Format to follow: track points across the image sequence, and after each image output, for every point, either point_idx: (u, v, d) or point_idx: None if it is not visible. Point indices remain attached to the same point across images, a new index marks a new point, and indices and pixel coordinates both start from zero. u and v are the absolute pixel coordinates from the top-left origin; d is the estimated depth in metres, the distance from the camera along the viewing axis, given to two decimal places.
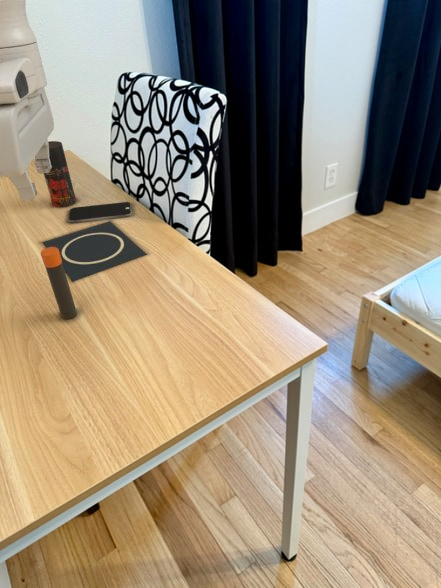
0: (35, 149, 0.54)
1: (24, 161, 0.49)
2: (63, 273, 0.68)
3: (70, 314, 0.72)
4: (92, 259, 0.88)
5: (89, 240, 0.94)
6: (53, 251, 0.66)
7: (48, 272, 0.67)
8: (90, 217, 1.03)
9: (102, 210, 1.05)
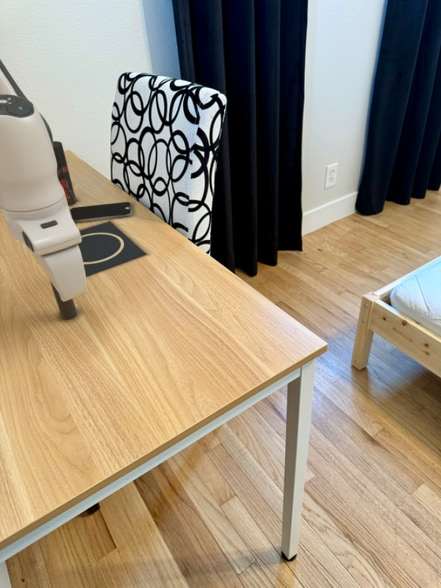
0: None
1: None
2: None
3: (70, 314, 0.72)
4: (92, 259, 0.88)
5: (89, 240, 0.94)
6: None
7: None
8: (90, 217, 1.03)
9: (102, 210, 1.05)
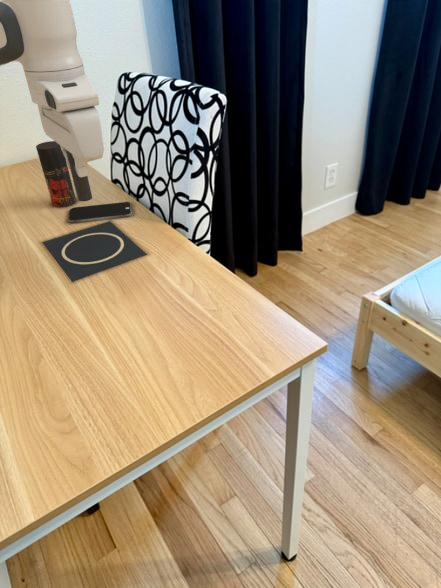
0: None
1: None
2: None
3: (86, 194, 0.77)
4: (92, 259, 0.88)
5: (89, 240, 0.94)
6: None
7: None
8: (90, 217, 1.03)
9: (102, 210, 1.05)
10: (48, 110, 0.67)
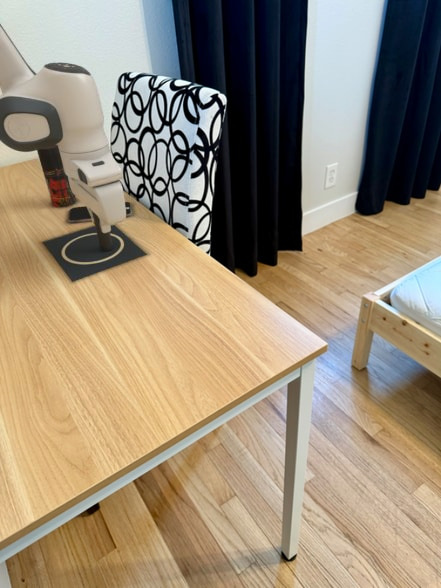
0: None
1: None
2: None
3: (108, 246, 0.89)
4: (92, 259, 0.88)
5: (89, 240, 0.94)
6: None
7: None
8: (90, 217, 1.03)
9: None
10: (78, 181, 0.79)
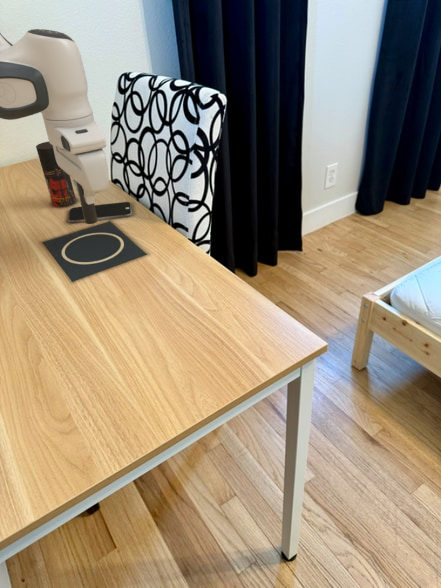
0: None
1: None
2: None
3: (92, 218, 0.90)
4: (92, 259, 0.88)
5: (89, 240, 0.94)
6: None
7: None
8: None
9: (102, 210, 1.05)
10: (62, 150, 0.80)
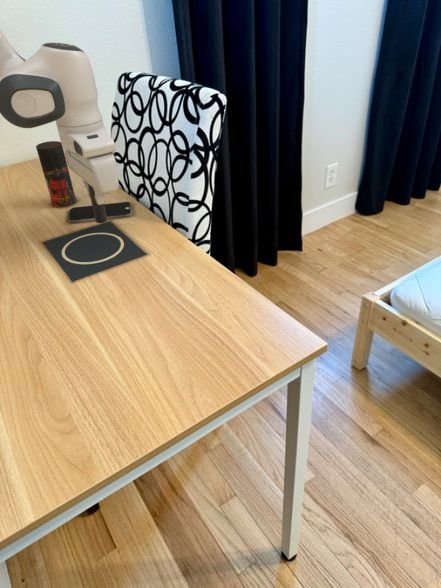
0: None
1: None
2: None
3: (102, 217, 0.96)
4: (92, 259, 0.88)
5: (89, 240, 0.94)
6: None
7: None
8: (90, 217, 1.03)
9: None
10: (75, 154, 0.85)
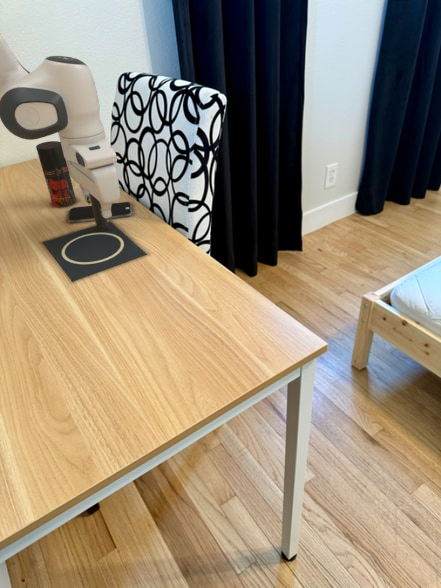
0: None
1: None
2: None
3: (104, 226, 0.97)
4: (92, 259, 0.88)
5: (89, 240, 0.94)
6: None
7: None
8: (90, 217, 1.03)
9: None
10: (77, 164, 0.87)
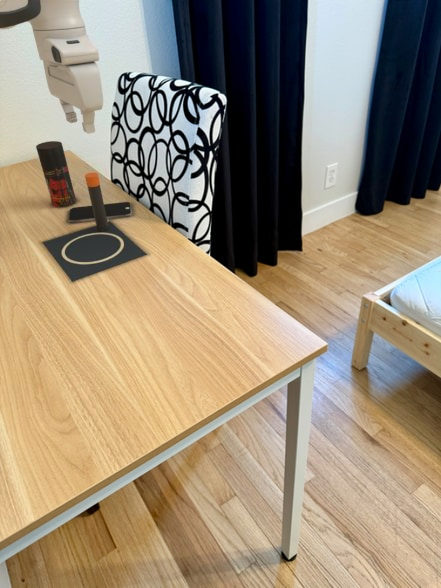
0: None
1: None
2: (100, 193, 0.93)
3: (104, 226, 0.97)
4: (92, 259, 0.88)
5: (89, 240, 0.94)
6: (94, 175, 0.90)
7: (90, 191, 0.92)
8: (90, 217, 1.03)
9: None
10: (54, 66, 0.76)
